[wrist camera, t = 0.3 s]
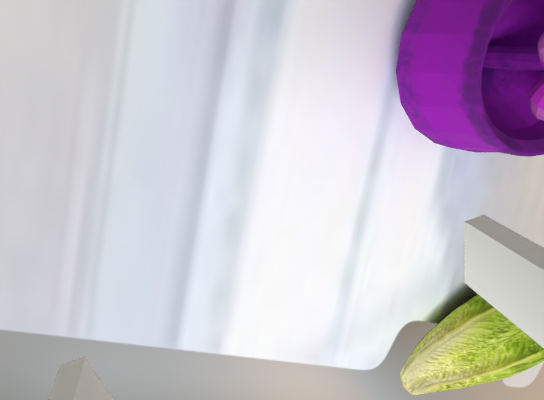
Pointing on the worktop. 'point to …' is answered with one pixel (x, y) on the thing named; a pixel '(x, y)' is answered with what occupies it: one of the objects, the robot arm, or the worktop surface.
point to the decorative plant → (475, 74)
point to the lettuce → (469, 350)
